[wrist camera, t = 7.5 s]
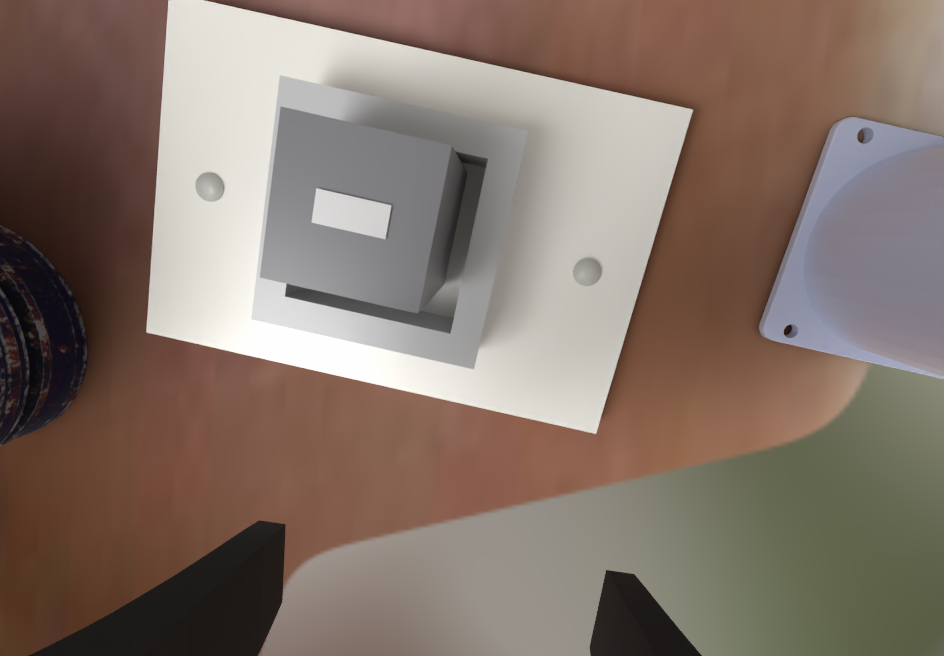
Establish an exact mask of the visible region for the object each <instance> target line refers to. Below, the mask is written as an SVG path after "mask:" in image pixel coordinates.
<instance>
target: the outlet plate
mask: <svg viewBox="0 0 944 656" xmlns="http://www.w3.org/2000/svg"><path fill="white" fill-rule="evenodd" d="M280 107H286V108H290V109H295V110H299V111H303V112H308V113H312V114H317V115H321V116H325V117H330V118H334V119H338V120H343V121H347V122H352V123H356V124H360V125H365V126H369V127H374V128H378V129H382V130H387V131H391V132H396V133H400V134H404V135H409V136H413V137H417V138H422V139H426V140H431V141H435V142H439V143H444V144H448V145H452V146H453V148H454V150H455V152H456V154H457V155H458V157H459V159H460V161H461V163H462V164H463V166H464V168H465V170H466V172H467V173H468V174H467V179H466V184H465V188H464V193H463V198H462V203H461V207H460V212H459V217H458V222H457V226H456V231H455V236H454V241H453V245H452V250H451V255H450V260H449V264H448V269H447V274H446V279H445V283H444V285H443V286H442V287H441V288H440V290H439V291H438V292H437V293H436V294H435V295H434V296H433V298H432V299H431V300H430V301H429V302H428V303H427V304H426V305H425V307H424V308H423V309H422V310H421V311H420V312H419V313H418V314H417V313H412V312H408V311H404V310H399V309H395V308H391V307H386V306H382V305H377V304H373V303H369V302H364V301H360V300H356V299H351V298H347V297H342V296H338V295H334V294H329V293H325V292H321V291H316V290H312V289H307V288H303V287H299V286H294V285H290V284H286V283H281V282H277V281H272V280H268V279H264V278H260V271H261V263H262V255H263V246H264V238H265V230H266V222H267V214H268V205H269V197H270V189H271V181H272V173H273V164H274V156H275V148H276V140H277V132H278V124H279V115H280ZM692 112H693V110H692V109H688V108H683V107H679V106H674V105H670V104H666V103H661V102H657V101H652V100H648V99H643V98H639V97H634V96H630V95H625V94H621V93H616V92H612V91H607V90H603V89H598V88H594V87H589V86H585V85H581V84H576V83H572V82H567V81H563V80H558V79H554V78H549V77H545V76H540V75H536V74H531V73H527V72H522V71H518V70H513V69H509V68H504V67H500V66H495V65H491V64H487V63H482V62H478V61H473V60H469V59H464V58H460V57H455V56H451V55H446V54H442V53H437V52H433V51H428V50H424V49H419V48H415V47H410V46H406V45H402V44H397V43H393V42H388V41H384V40H379V39H375V38H370V37H366V36H361V35H357V34H352V33H348V32H343V31H339V30H334V29H330V28H325V27H321V26H316V25H312V24H308V23H303V22H299V21H294V20H290V19H285V18H281V17H276V16H272V15H267V14H263V13H258V12H254V11H249V10H245V9H240V8H236V7H231V6H227V5H223V4H218V3H214V2H209V1H205V0H169V1H168V16H167V31H166V46H165V61H164V76H163V91H162V106H161V121H160V136H159V151H158V166H157V181H156V196H155V211H154V226H153V241H152V256H151V271H150V286H149V301H148V316H147V331H146V332H147V333H151V334H156V335H160V336H165V337H169V338H174V339H178V340H182V341H187V342H191V343H196V344H200V345H205V346H209V347H213V348H218V349H222V350H227V351H231V352H236V353H240V354H244V355H249V356H253V357H258V358H262V359H267V360H271V361H275V362H280V363H284V364H289V365H293V366H298V367H302V368H306V369H311V370H315V371H320V372H324V373H329V374H333V375H338V376H342V377H346V378H351V379H355V380H360V381H364V382H369V383H373V384H377V385H382V386H386V387H391V388H395V389H400V390H404V391H408V392H413V393H417V394H422V395H426V396H431V397H435V398H439V399H444V400H448V401H453V402H457V403H462V404H466V405H470V406H475V407H479V408H484V409H488V410H493V411H497V412H502V413H506V414H510V415H515V416H519V417H524V418H528V419H533V420H537V421H541V422H546V423H550V424H555V425H559V426H564V427H568V428H572V429H577V430H581V431H586V432H590V433H595V434H596V432H597V429H598V425H599V422H600V419H601V415H602V412H603V409H604V405H605V402H606V399H607V395H608V392H609V389H610V385H611V382H612V379H613V375H614V372H615V369H616V365H617V362H618V359H619V355H620V352H621V349H622V345H623V342H624V339H625V335H626V332H627V329H628V325H629V322H630V319H631V315H632V312H633V309H634V305H635V302H636V299H637V295H638V292H639V289H640V285H641V282H642V279H643V275H644V272H645V268H646V265H647V262H648V258H649V255H650V252H651V248H652V245H653V242H654V238H655V235H656V232H657V228H658V225H659V222H660V218H661V215H662V212H663V208H664V205H665V202H666V198H667V195H668V192H669V188H670V185H671V182H672V178H673V175H674V172H675V168H676V165H677V162H678V158H679V155H680V152H681V148H682V145H683V142H684V138H685V135H686V132H687V128H688V125H689V122H690V118H691V115H692Z"/></svg>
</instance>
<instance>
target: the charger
mask: <svg viewBox="0 0 944 656" xmlns="http://www.w3.org/2000/svg"><path fill="white" fill-rule="evenodd" d="M467 174H468V173H467V172H466V170H465V168H464V166H463V164H462V163H461V161H460V159H459V157H458V155H457V154H456V152H455V150H454V148H453V146H452V145H448V144H444V143H439V142H435V141H431V140H426V139H422V138H417V137H413V136H409V135H404V134H400V133H396V132H391V131H387V130H382V129H378V128H374V127H369V126H365V125H360V124H356V123H352V122H347V121H343V120H338V119H334V118H330V117H325V116H321V115H317V114H312V113H308V112H303V111H299V110H295V109H290V108H286V107H280V115H279V124H278V132H277V140H276V148H275V156H274V164H273V173H272V181H271V189H270V197H269V205H268V214H267V222H266V230H265V238H264V246H263V255H262V263H261V271H260V278H264V279H268V280H272V281H277V282H281V283H286V284H290V285H294V286H299V287H303V288H307V289H312V290H316V291H321V292H325V293H329V294H334V295H338V296H342V297H347V298H351V299H356V300H360V301H364V302H369V303H373V304H377V305H382V306H386V307H391V308H395V309H399V310H404V311H408V312H412V313H417V314H418V313H419V312H420V311H421V310H422V309H423V308H424V307H425V305H426V304H427V303H428V302H429V301H430V300H431V299H432V298H433V296H434V295H435V294H436V293H437V292H438V291H439V290H440V288H441V287H442V286H443V285H444V283H445V279H446V274H447V269H448V264H449V260H450V255H451V250H452V245H453V241H454V236H455V231H456V226H457V222H458V217H459V212H460V207H461V203H462V198H463V193H464V188H465V184H466V179H467Z"/></svg>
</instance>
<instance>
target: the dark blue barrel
mask: <svg viewBox="0 0 944 656" xmlns="http://www.w3.org/2000/svg"><path fill="white" fill-rule="evenodd" d="M86 364H87V340H86V333H85V327H84V323H83V320H82V316H81V313H80V310H79V307H78V305H77V303H76V301H75V298H74V296H73V294H72V292H71V290H70V289H69V287H68V285H67V284H66V282H65V280H64V279H63V277H62V276H61V274H60V273H59V272H58V271H57V270H56V268H55V267H54V266H53V265H52V263H51V262H50V261H49V260H48V259H47V258H46V257H45V256H44V255H43V254H42V253H41V252H40V251H39V250H38V249H37V248H36V247H35V246H33V245H32V244H31V243H29V242H28V241H26V240H25V239H24V238H22V237H21V236H20V235H18V234H16V233H15V232H13V231H11V230H9V229H7V228H6V227H4V226H2V225H0V446H1V445H4V444H6V443H8V442H10V441H11V440H13V439H14V438H18V437H22V436H24V435H26V434H29V433H31V432H33V431H35V430H37V429H40V428H42V427H44V426H46V425H48V424H50V423H51V422H52V421H54V420H55V419H57V418H58V417H59V416H60V415H61V414H62V413H63V412H64V411H65V410H66V409H67V408H68V407H69V406H70V405H71V403H72V401H73V400H74V398H75V397H76V395H77V394H78V391H79V389H80V386H81V384H82V381H83V379H84V374H85V369H86Z"/></svg>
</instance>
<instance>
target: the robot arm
mask: <svg viewBox="0 0 944 656" xmlns="http://www.w3.org/2000/svg"><path fill="white" fill-rule="evenodd" d="M860 130H861V131H863V132H864V135H865V137H864V140H863V142H862V143H860V142H859V141H858V139H857V135H858V132H859V131H860ZM790 324H791V326H792V331H791V332H790V334H788V335H786V336H785V335H784V329H785V327H786V326H788V325H790ZM759 330H760V333H761V335H762V336H763V337H765V338H767V339H770V340H772V341H776V342H781V343H785V344H789V345H794V346H798V347H803V348H807V349H812V350H816V351H821V352H825V353H830V354H834V355H838V356H843V357H847V358H852V359H856V360H861V361H865V362H870V363H874V364H879V365H883V366H887V367H892V368H897V369H901V370H905V371H910V372H914V373H919V374H923V375H928V376H932V377H936V378H941V379H944V137H942V136H938V135H933V134H929V133H924V132H920V131H915V130H911V129H906V128H902V127H897V126H893V125H888V124H884V123H879V122H875V121H870V120H866V119H861V118H857V117H849V118H845V119H842V120H840V121H837V122H836V123H835V124H834V125H833V126H832V128H831V129H830V131H829V134H828V137H827V139H826V142H825V145H824V148H823V150H822V153H821V156H820V159H819V162H818V164H817V167H816V170H815V173H814V175H813V178H812V181H811V184H810V186H809V189H808V192H807V195H806V197H805V200H804V203H803V206H802V208H801V211H800V214H799V217H798V219H797V222H796V225H795V228H794V230H793V233H792V236H791V239H790V241H789V244H788V247H787V250H786V252H785V255H784V258H783V261H782V263H781V266H780V269H779V272H778V274H777V277H776V280H775V283H774V285H773V288H772V291H771V294H770V296H769V299H768V302H767V305H766V307H765V310H764V313H763V316H762V318H761V321H760V325H759ZM284 548H285V524H279V523H272V522H265V521H258V522H256V523H254V524H253V525H251V526H249V527H248V528H246V529H245V530H243V531H242V532H240V533H239V534H237V535H236V536H234V537H233V538H231V539H230V540H228V541H227V542H225V543H224V544H222V545H221V546H219V547H218V548H216V549H215V550H213V551H212V552H210V553H209V554H207V555H206V556H204V557H203V558H201V559H199V560H198V561H196V562H195V563H193V564H192V565H190V566H189V567H187V568H186V569H184V570H182V571H181V572H179V573H178V574H176V575H175V576H173V577H172V578H170V579H168V580H167V581H165V582H163V583H162V584H160V585H158V586H157V587H155V588H153V589H152V590H150V591H148V592H146V593H145V594H143V595H141V596H140V597H138V598H136V599H135V600H133V601H131V602H130V603H128V604H126V605H125V606H123V607H121V608H120V609H118V610H116V611H114V612H113V613H111V614H109V615H107V616H105V617H104V618H102V619H100V620H98V621H96V622H94V623H92V624H91V625H89V626H87V627H85V628H83V629H81V630H79V631H77V632H75V633H73V634H71V635H69V636H67V637H66V638H64V639H62V640H60V641H58V642H56V643H54V644H52V645H50V646H48V647H46V648H44V649H42V650H40V651H37V652H35V653H33V654H31V655H29V656H257V655H258V654H259V652H260V650H261V648H262V646H263V644H264V641H265V639H266V637H267V635H268V633H269V631H270V629H271V626H272V624H273V622H274V619H275V617H276V615H277V613H278V610H279V608H280V606H281V603H282V595H283V571H284ZM590 653H591V656H702V655H701V654H700V653H699V652H698V651H697V650H696V648H695V647H694V646H693V645H692V644H691V643H690V641H688V639H687V638H686V637H685V636H684V634H683V633H682V632H681V631H680V630H679V629H678V627H677V626H676V625H675V623H674V622H673V621H672V620H671V619H670V618H669V616H668V615H667V614H666V613H665V612H664V610H663V609H662V608H661V606H660V605H659V604H658V603H657V601H656V600H655V599H654V598H653V597H652V595H651V594H650V593H649V592H648V590H647V589H646V588H645V587H644V585H643V584H642V583H641V582H640V581H639V579H638V578H637V577H636V576H635V575H634V574H629V573H622V572H615V571H608V570H606V574H605V579H604V583H603V588H602V593H601V597H600V602H599V607H598V611H597V616H596V621H595V625H594V630H593V634H592V639H591V644H590Z"/></svg>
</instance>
